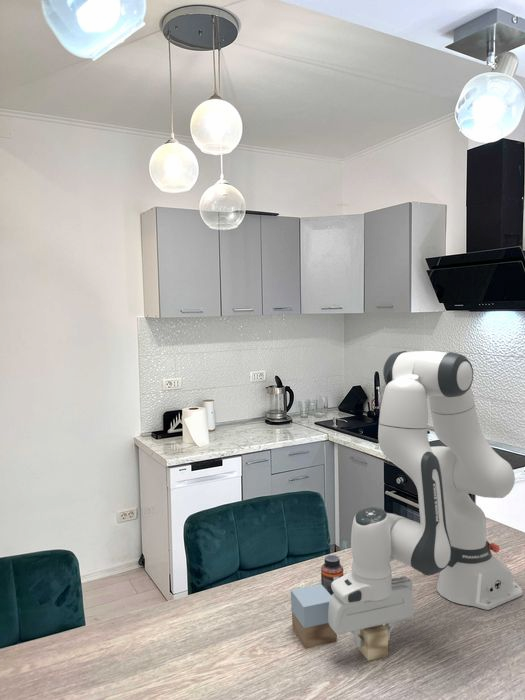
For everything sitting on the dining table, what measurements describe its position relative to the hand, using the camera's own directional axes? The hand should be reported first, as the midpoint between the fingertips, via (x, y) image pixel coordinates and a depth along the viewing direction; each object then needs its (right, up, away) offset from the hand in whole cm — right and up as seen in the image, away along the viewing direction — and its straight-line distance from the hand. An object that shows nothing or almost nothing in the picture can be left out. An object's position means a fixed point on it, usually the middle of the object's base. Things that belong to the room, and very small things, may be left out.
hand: (372, 642), depth 116 cm
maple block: (0, -2, 0) cm, 2 cm away
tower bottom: (-12, -2, +7) cm, 14 cm away
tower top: (-13, +3, +6) cm, 15 cm away
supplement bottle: (-6, -1, +22) cm, 23 cm away
